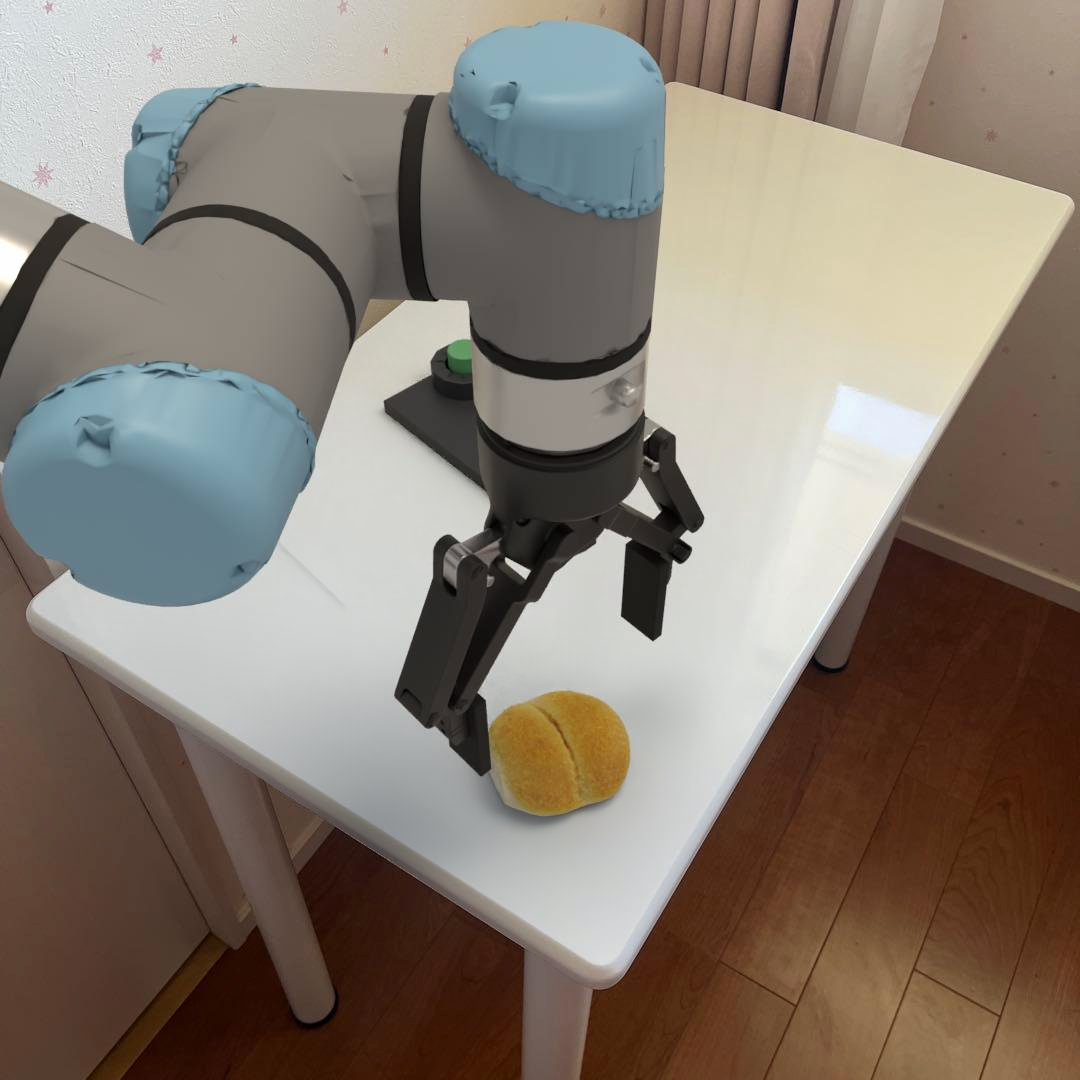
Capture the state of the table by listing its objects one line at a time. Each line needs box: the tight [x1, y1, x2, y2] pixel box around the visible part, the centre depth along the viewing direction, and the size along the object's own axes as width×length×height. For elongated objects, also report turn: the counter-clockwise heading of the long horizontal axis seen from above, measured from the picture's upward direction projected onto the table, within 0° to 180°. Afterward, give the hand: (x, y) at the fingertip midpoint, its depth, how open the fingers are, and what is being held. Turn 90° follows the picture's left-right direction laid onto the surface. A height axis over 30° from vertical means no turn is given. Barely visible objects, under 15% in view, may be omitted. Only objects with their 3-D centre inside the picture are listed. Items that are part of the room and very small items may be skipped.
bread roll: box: [488, 690, 631, 817], centre depth 69 cm, size 8×9×4 cm
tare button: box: [447, 338, 472, 375], centre depth 93 cm, size 3×3×2 cm
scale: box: [383, 343, 486, 491], centre depth 91 cm, size 18×14×3 cm
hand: (559, 688), depth 64 cm, fingers open, 13 cm apart
